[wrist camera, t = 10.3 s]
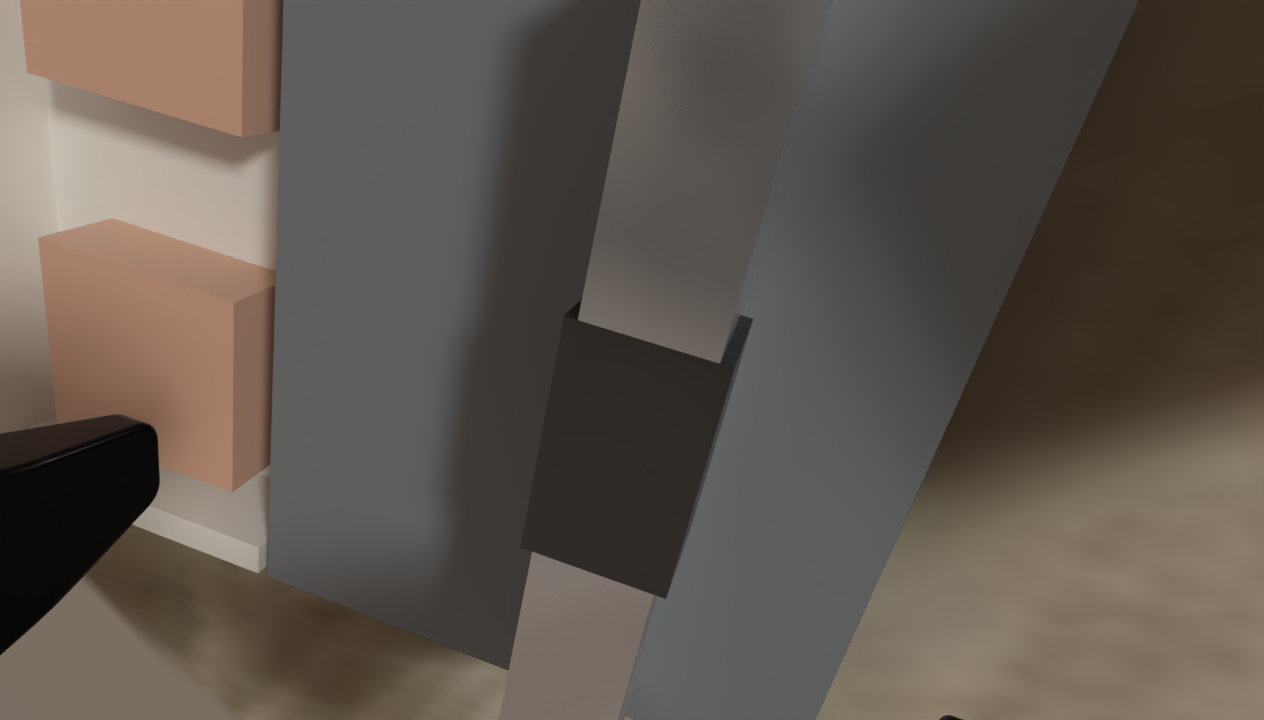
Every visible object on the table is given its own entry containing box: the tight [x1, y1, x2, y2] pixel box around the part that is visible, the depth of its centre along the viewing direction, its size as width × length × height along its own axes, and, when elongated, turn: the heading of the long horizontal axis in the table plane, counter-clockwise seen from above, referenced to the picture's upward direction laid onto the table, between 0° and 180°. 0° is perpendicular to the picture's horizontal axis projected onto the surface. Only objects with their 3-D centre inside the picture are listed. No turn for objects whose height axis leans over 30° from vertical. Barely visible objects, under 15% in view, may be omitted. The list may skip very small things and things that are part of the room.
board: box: [267, 0, 1139, 720], centre depth 16 cm, size 13×17×3 cm
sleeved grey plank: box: [499, 0, 837, 720], centre depth 13 cm, size 2×15×4 cm, turn 168°
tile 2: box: [38, 218, 276, 492], centre depth 20 cm, size 5×5×2 cm
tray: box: [0, 0, 280, 573], centre depth 18 cm, size 8×17×3 cm, turn 167°
